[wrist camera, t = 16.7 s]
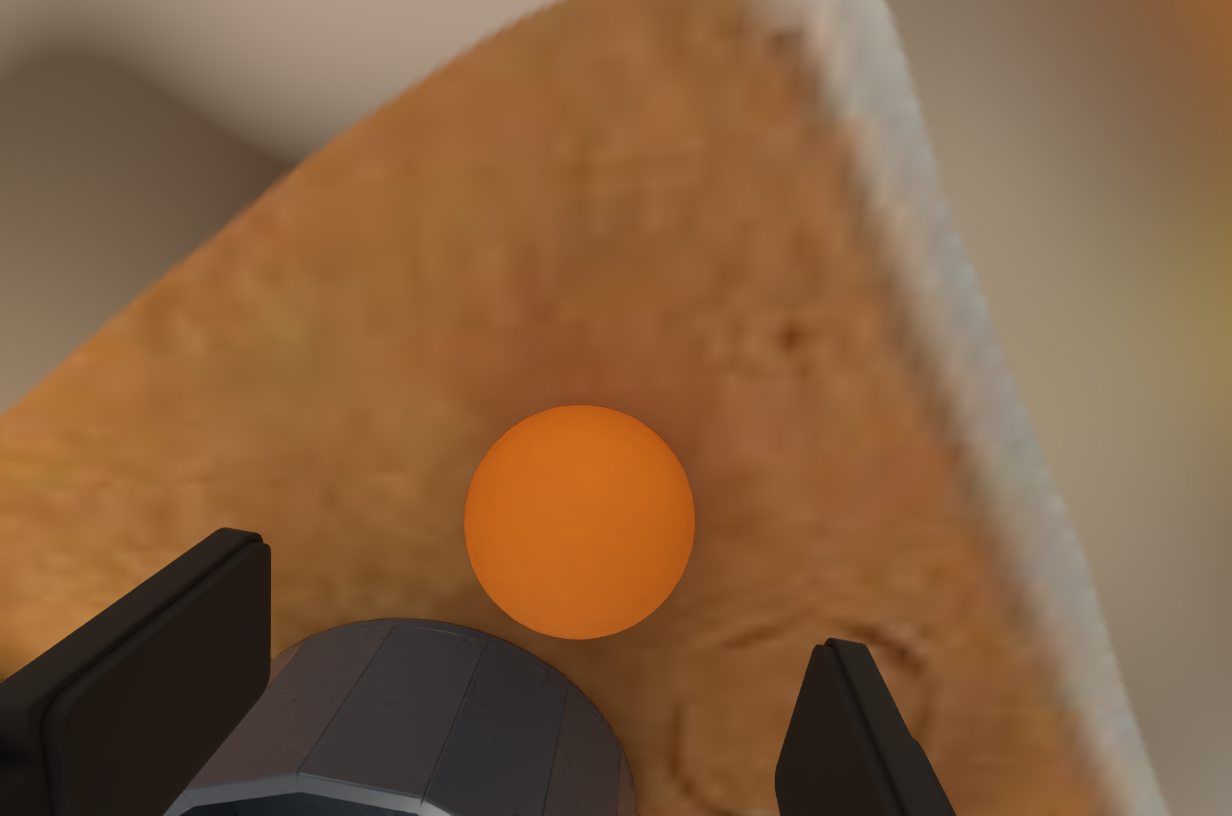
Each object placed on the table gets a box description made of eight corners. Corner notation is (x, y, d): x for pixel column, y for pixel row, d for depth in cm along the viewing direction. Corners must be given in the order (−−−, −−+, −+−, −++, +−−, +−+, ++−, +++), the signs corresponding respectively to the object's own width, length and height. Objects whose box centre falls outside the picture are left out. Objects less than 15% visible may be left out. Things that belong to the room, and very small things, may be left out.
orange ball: (668, 577, 20) (673, 715, 14) (486, 543, 20) (419, 667, 15) (707, 400, 19) (730, 478, 13) (508, 364, 19) (442, 425, 13)
